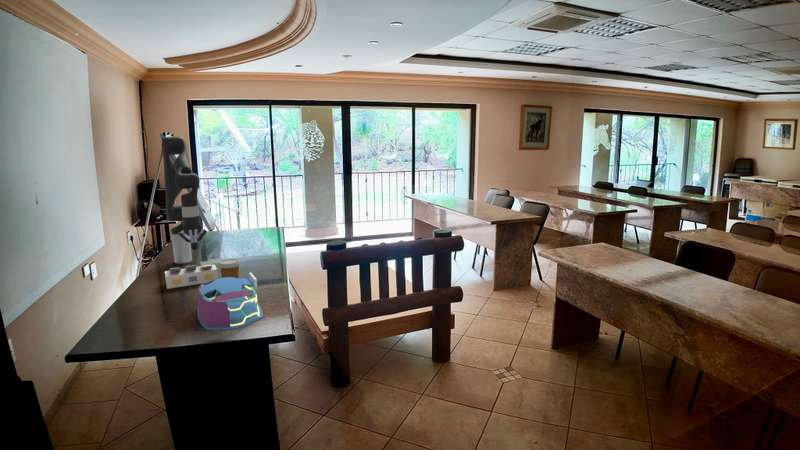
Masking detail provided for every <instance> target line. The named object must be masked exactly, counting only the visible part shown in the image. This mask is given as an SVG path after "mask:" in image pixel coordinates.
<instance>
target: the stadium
mask: <svg viewBox="0 0 800 450" xmlns="http://www.w3.org/2000/svg"><path fill="white" fill-rule="evenodd" d="M248 275H249V276H248V277H249V279H248V278H244V277H238V278H237V277H226V278H222V277H220V278H218V279H216V280H213V281H210V282H207V283H201V284H200V285H199V287H198V288H197V297H196V298H197V299H196V301H197V310H196V311H197V312H196V314H197V319H198V321H199V323H200V325H201V326H202V327H203V328H204V329H205V330H207V331H208V330H212V331H215V330H217V331H218V330H219V331H221V330H235V329H236V330H237V329H241V328H243V327H246V326H249V325H251V324H253V323H255V322H257V321H259V320H261V319H264V314H263V310H262V308H261V306H260V304H259V303H258V295H257V288H258V281H257V277H255V275H254V274H253V273H252V272H248ZM243 286H244V289H243ZM242 289H243V290H242ZM246 290H247V291H246ZM218 294H219V295H218ZM250 295H251V297H250Z"/></svg>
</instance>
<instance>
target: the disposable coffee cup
mask: <svg viewBox="0 0 800 450" xmlns="http://www.w3.org/2000/svg"><path fill="white" fill-rule="evenodd" d="M239 266H240V261H239V259H237V258H227V259H224V260H223V259H222V260H220V261H219V263H218V267H219V268H220V273H221V278H226V277H237V278H239V268H240V267H239Z"/></svg>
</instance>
